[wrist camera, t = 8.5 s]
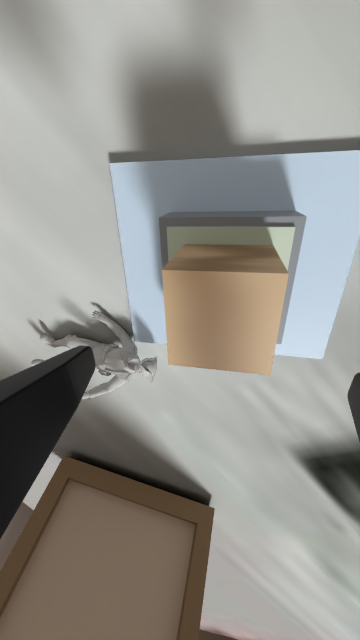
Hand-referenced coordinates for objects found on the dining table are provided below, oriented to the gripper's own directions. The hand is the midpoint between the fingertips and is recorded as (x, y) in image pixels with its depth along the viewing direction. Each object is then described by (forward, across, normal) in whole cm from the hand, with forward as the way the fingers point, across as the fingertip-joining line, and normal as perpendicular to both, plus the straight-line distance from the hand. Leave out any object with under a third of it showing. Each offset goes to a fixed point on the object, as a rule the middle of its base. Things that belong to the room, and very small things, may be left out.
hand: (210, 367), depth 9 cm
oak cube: (+8, 0, 0) cm, 8 cm away
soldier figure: (+12, +12, +8) cm, 19 cm away
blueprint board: (+12, 0, 0) cm, 12 cm away
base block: (+12, 0, 0) cm, 12 cm away
